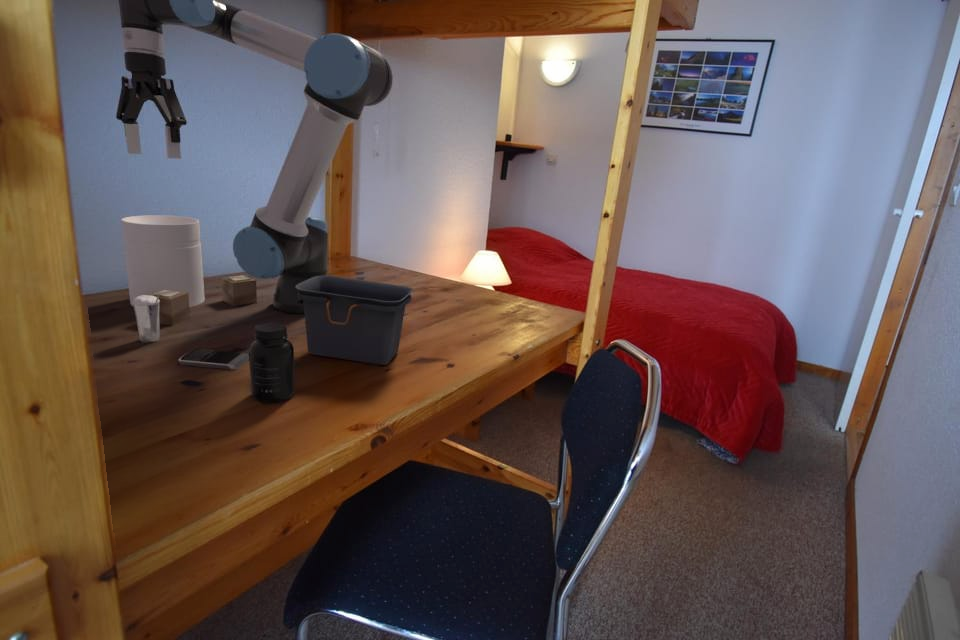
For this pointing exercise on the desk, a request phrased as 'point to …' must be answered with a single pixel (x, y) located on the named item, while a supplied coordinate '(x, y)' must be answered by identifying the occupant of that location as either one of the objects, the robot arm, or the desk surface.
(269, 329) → the supplement bottle
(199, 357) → the cell phone
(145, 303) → the milkshake
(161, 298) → the walnut block left
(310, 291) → the storage bin
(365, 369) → the desk surface
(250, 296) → the walnut block right
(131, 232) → the canister
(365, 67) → the robot arm
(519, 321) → the desk surface
